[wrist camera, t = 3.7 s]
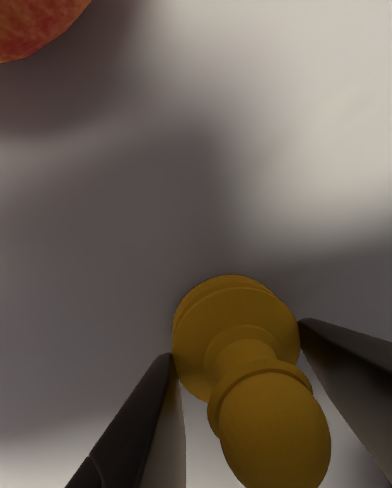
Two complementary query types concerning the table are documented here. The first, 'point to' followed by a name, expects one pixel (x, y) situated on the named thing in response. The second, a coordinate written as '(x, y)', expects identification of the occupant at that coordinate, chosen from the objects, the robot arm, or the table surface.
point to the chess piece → (251, 382)
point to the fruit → (34, 24)
